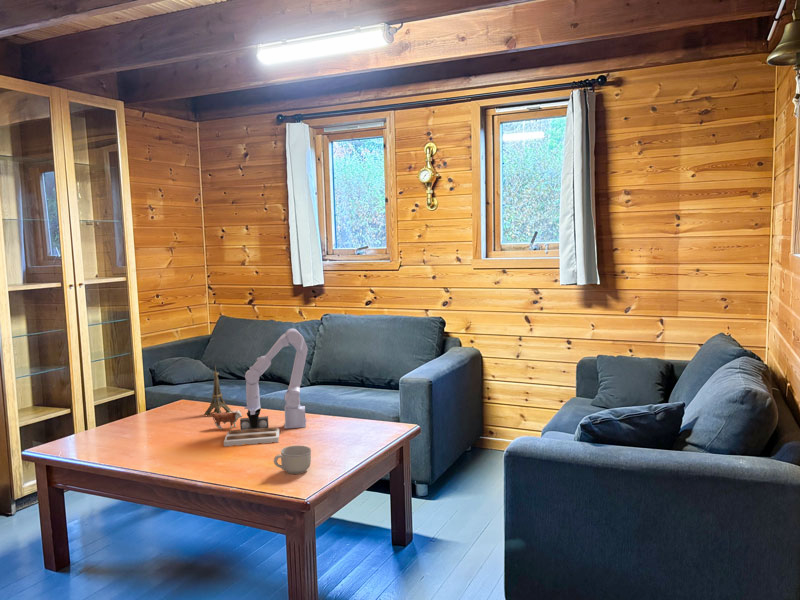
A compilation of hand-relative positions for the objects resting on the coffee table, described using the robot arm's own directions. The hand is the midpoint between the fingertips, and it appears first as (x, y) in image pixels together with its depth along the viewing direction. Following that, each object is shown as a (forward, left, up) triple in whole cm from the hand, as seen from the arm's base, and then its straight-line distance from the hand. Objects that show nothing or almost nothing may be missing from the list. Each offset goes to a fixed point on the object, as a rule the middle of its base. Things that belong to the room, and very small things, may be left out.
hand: (254, 426), depth 279 cm
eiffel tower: (+20, -35, -2) cm, 40 cm away
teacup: (-17, +59, -2) cm, 61 cm away
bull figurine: (+12, -7, -2) cm, 14 cm away
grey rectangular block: (0, 0, -2) cm, 2 cm away
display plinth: (0, +14, -2) cm, 14 cm away
